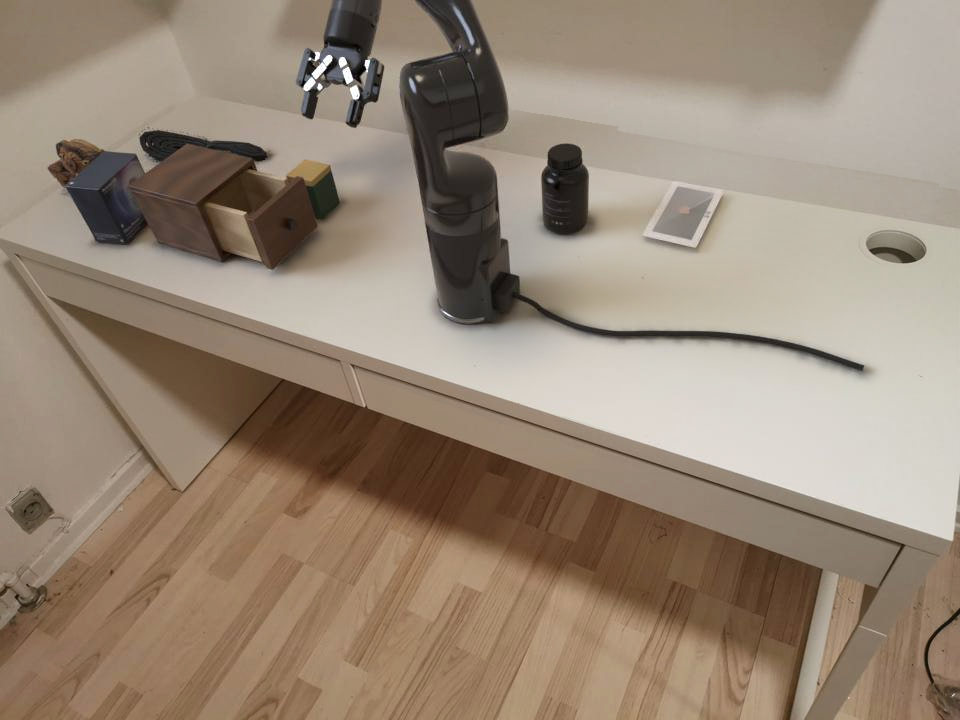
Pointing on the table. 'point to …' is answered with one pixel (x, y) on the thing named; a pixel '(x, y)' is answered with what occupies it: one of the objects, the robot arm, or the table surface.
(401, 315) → the table surface
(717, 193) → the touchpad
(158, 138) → the hairbrush
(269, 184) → the drawer
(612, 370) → the table surface
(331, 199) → the tea tin
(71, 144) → the wooden carving
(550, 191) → the supplement bottle
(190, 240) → the cabinet
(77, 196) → the small box
